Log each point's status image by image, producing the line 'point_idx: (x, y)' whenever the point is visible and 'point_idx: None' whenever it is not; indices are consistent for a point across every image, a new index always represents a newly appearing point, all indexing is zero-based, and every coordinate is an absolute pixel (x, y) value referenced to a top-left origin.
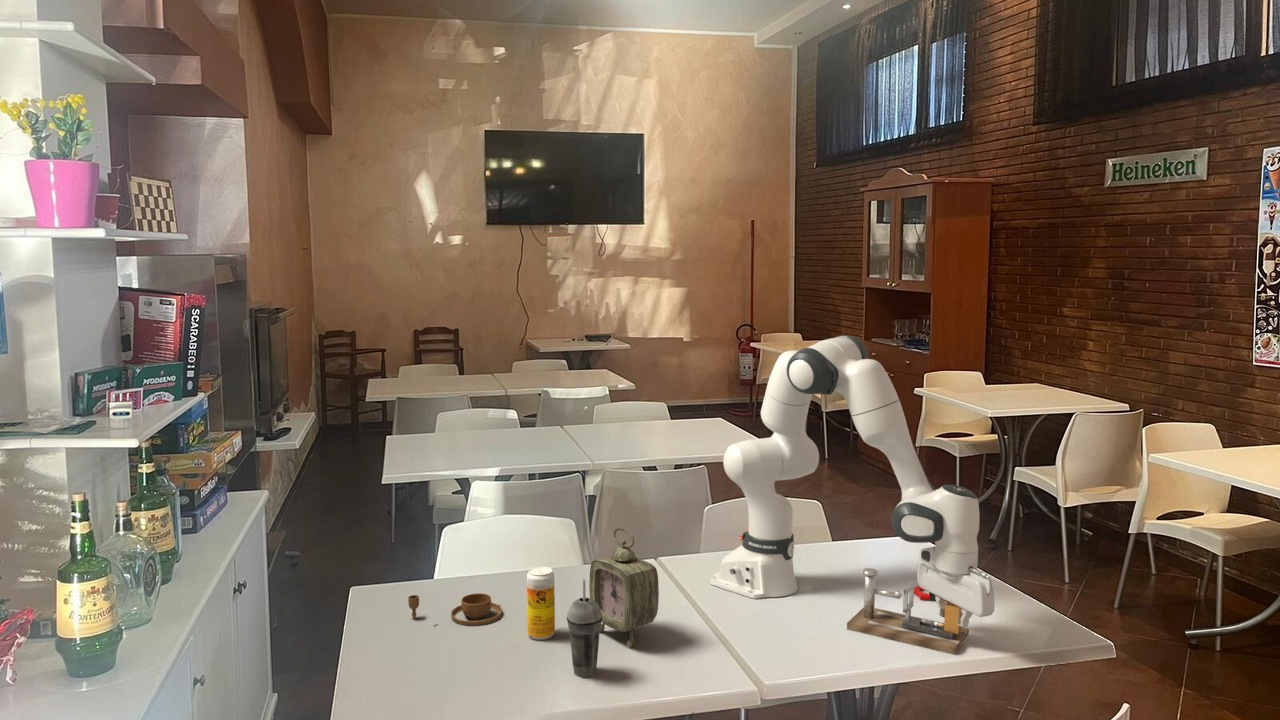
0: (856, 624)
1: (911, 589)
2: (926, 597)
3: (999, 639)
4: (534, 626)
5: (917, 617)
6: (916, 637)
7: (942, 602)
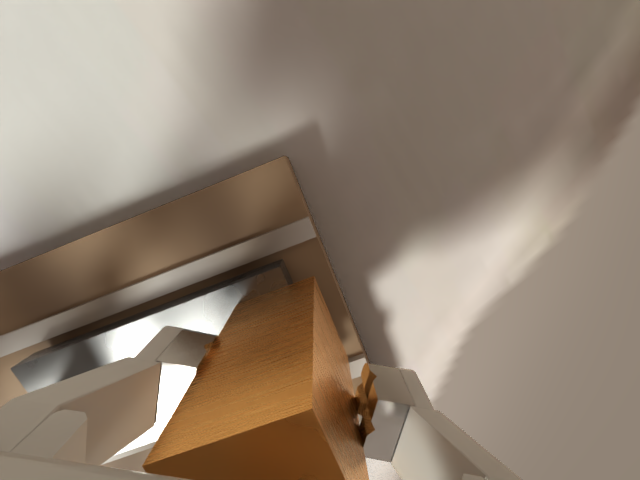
0: None
1: None
2: None
3: (421, 61)
4: None
5: (15, 265)
6: None
7: (98, 429)
